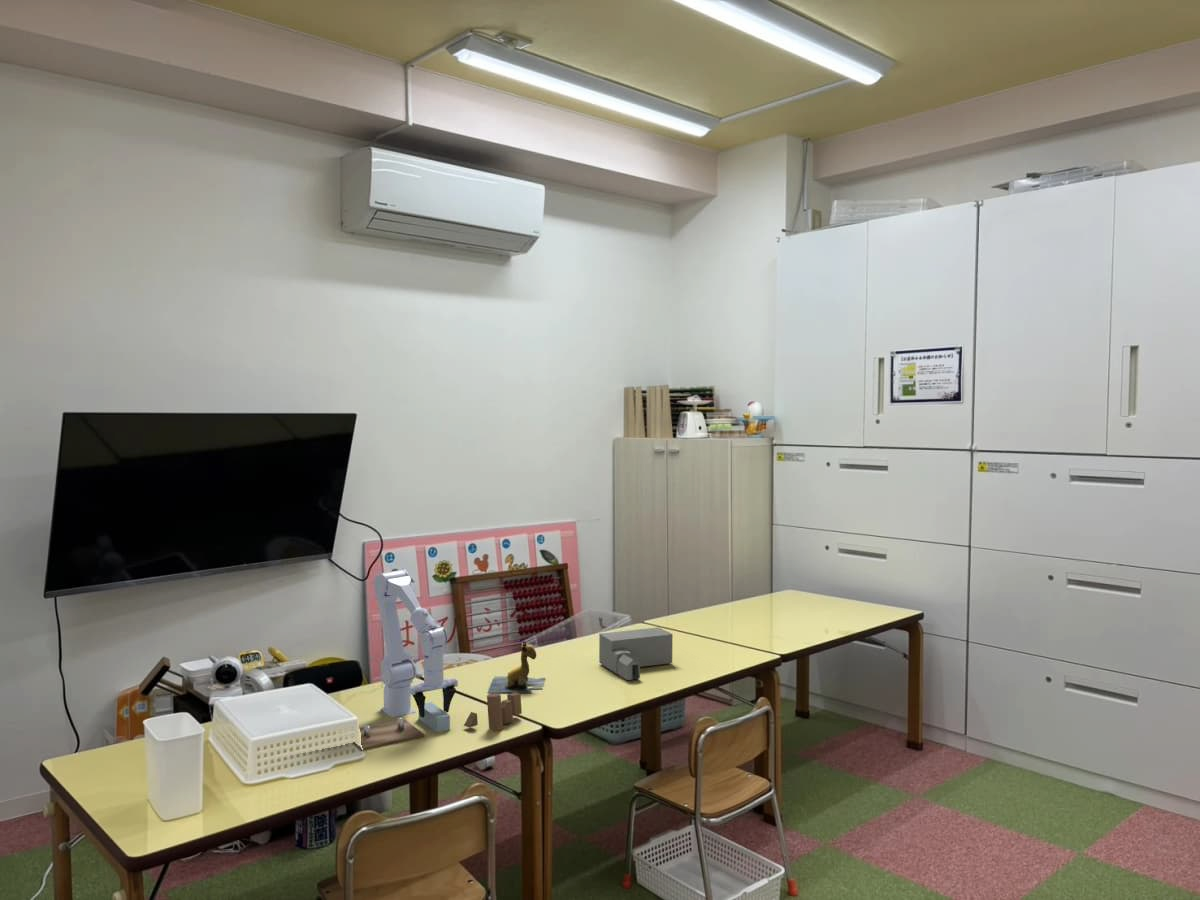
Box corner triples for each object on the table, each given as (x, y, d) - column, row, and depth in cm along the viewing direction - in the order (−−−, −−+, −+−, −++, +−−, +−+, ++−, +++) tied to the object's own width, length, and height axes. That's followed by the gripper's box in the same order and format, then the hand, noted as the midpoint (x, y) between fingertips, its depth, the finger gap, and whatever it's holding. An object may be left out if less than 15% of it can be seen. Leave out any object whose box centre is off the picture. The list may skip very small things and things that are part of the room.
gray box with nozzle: (625, 680, 305) (626, 649, 304) (599, 662, 326) (599, 633, 326) (688, 671, 315) (688, 642, 314) (658, 655, 336) (658, 627, 336)
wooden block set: (512, 716, 269) (510, 682, 269) (530, 721, 262) (528, 687, 262) (463, 731, 256) (461, 696, 256) (480, 737, 250) (478, 701, 250)
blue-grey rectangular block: (418, 720, 265) (418, 704, 264) (431, 718, 267) (430, 702, 267) (437, 735, 253) (437, 718, 253) (449, 732, 255) (449, 715, 255)
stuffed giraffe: (541, 695, 289) (541, 647, 288) (487, 694, 289) (487, 647, 289) (545, 680, 305) (545, 635, 304) (494, 679, 305) (494, 634, 305)
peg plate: (345, 734, 252) (345, 720, 252) (404, 722, 262) (404, 708, 262) (362, 751, 240) (361, 736, 240) (423, 738, 250) (423, 724, 250)
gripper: (415, 676, 252) (416, 722, 252) (461, 668, 260) (462, 713, 260) (406, 670, 258) (407, 715, 258) (452, 662, 266) (452, 706, 266)
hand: (434, 713), depth 260 cm, fingers open, 7 cm apart
